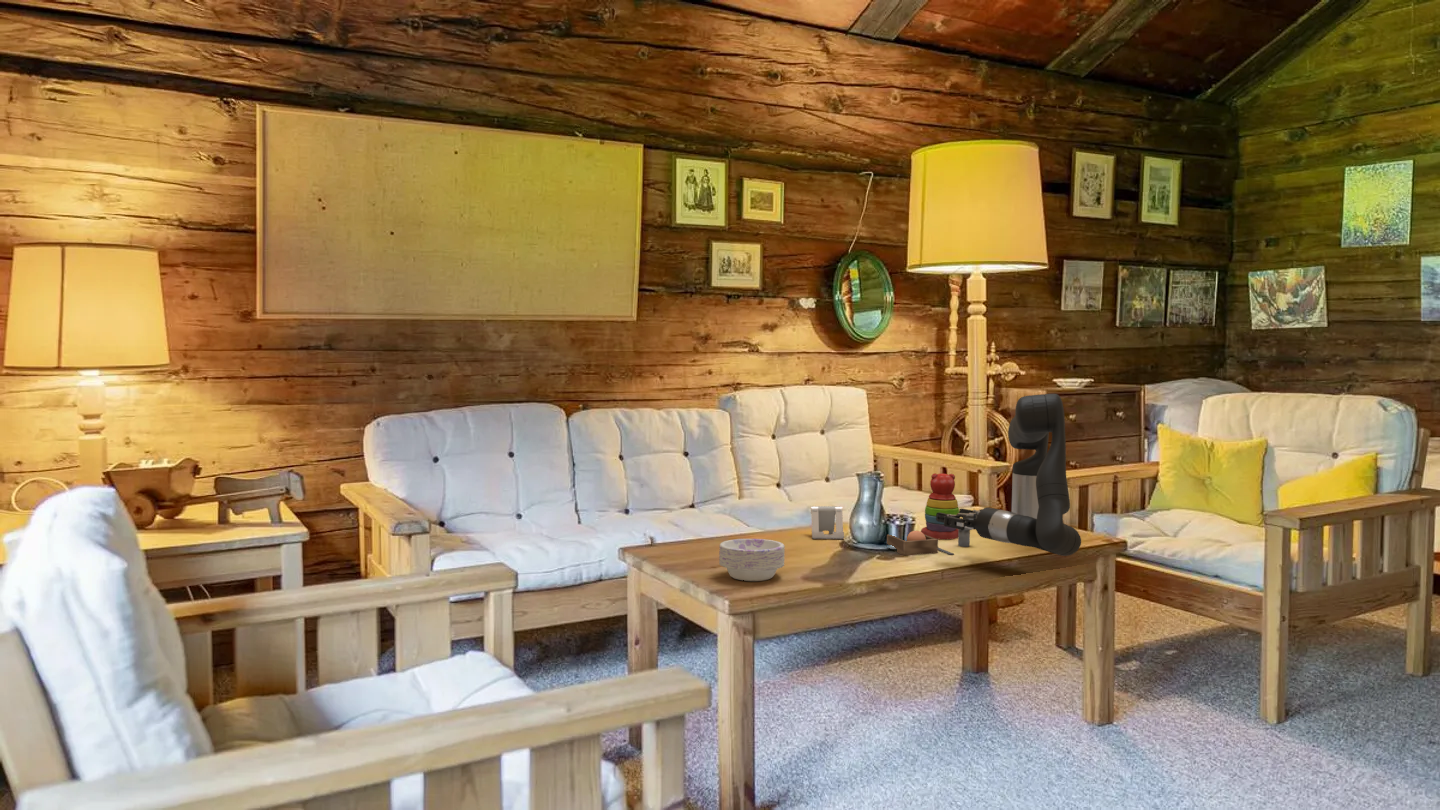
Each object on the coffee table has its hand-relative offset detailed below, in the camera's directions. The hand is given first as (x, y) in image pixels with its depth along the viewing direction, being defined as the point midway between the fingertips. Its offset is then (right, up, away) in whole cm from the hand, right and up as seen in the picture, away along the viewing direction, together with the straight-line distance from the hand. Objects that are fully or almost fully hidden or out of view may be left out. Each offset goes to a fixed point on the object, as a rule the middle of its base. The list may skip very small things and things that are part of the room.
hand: (948, 514), depth 257 cm
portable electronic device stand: (-28, -9, +25) cm, 39 cm away
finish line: (-1, -10, +11) cm, 15 cm away
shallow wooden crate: (-8, -10, +9) cm, 15 cm away
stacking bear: (+4, -9, +27) cm, 29 cm away
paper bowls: (-51, -13, -20) cm, 56 cm away
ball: (-7, -7, +7) cm, 12 cm away
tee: (+7, -10, +14) cm, 19 cm away
